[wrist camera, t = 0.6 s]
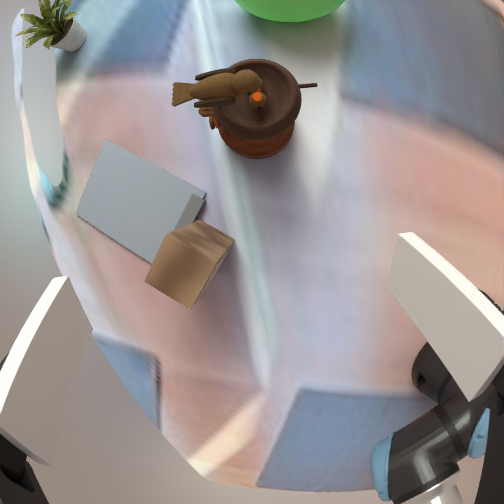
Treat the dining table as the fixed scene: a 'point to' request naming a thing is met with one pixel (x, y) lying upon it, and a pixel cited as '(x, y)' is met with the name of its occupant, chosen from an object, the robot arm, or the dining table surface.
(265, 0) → the green rounded lump
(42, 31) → the house plant
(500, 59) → the dining table surface
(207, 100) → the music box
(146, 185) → the mat
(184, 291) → the brown rectangular block
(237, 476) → the dining table surface
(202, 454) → the dining table surface
